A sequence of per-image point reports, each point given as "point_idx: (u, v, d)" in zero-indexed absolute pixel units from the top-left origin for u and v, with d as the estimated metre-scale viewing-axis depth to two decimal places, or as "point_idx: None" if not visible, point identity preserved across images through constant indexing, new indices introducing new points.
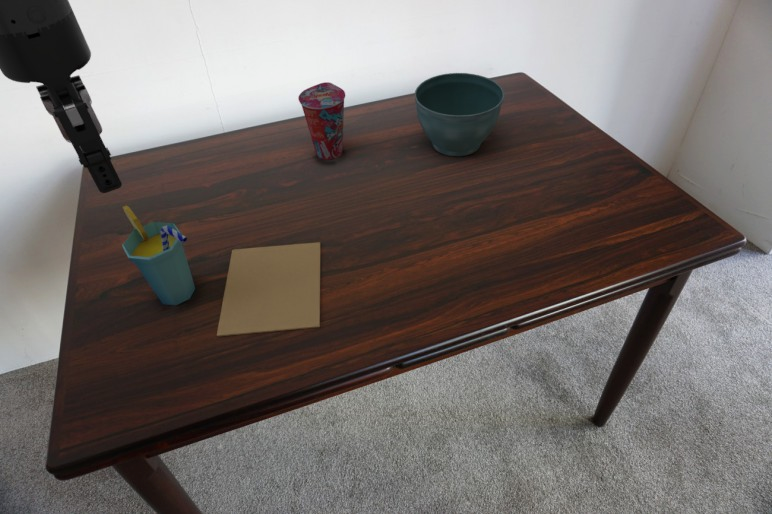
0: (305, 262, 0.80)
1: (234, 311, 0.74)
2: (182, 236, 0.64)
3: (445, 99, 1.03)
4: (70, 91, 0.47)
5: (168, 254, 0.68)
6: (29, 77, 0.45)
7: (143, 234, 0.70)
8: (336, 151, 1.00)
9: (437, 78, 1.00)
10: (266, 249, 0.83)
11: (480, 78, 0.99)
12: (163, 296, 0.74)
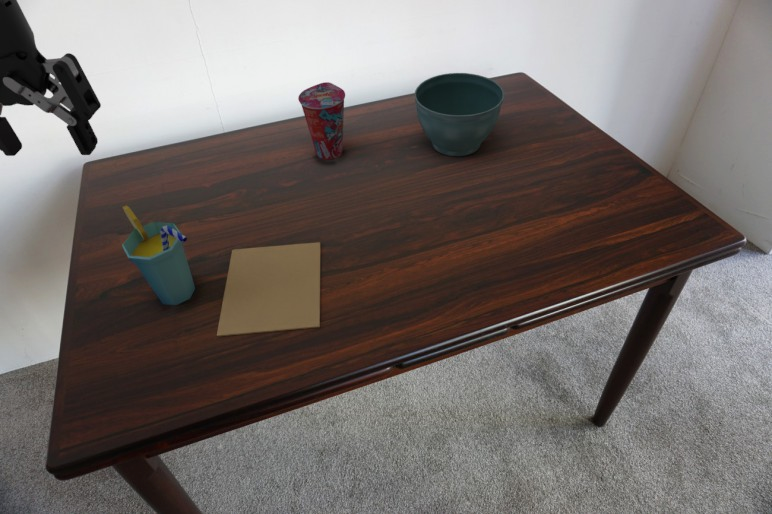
0: (305, 262, 0.80)
1: (234, 311, 0.74)
2: (182, 236, 0.64)
3: (445, 99, 1.03)
4: (42, 56, 0.51)
5: (168, 254, 0.68)
6: (11, 48, 0.48)
7: (143, 234, 0.70)
8: (336, 151, 1.00)
9: (437, 78, 1.00)
10: (266, 249, 0.83)
11: (480, 78, 0.99)
12: (163, 296, 0.74)
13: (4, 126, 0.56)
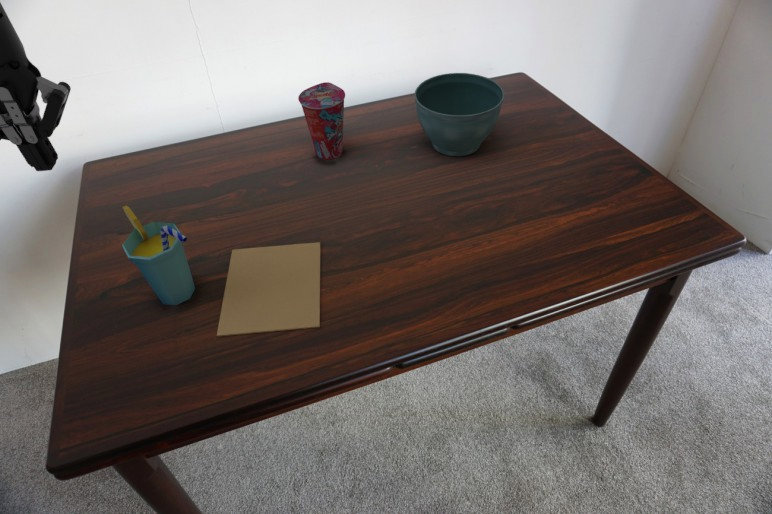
0: (305, 262, 0.80)
1: (234, 311, 0.74)
2: (182, 236, 0.64)
3: (445, 99, 1.03)
4: None
5: (168, 254, 0.68)
6: (5, 58, 0.50)
7: (143, 234, 0.70)
8: (336, 151, 1.00)
9: (437, 78, 1.00)
10: (266, 249, 0.83)
11: (480, 78, 0.99)
12: (163, 296, 0.74)
13: None
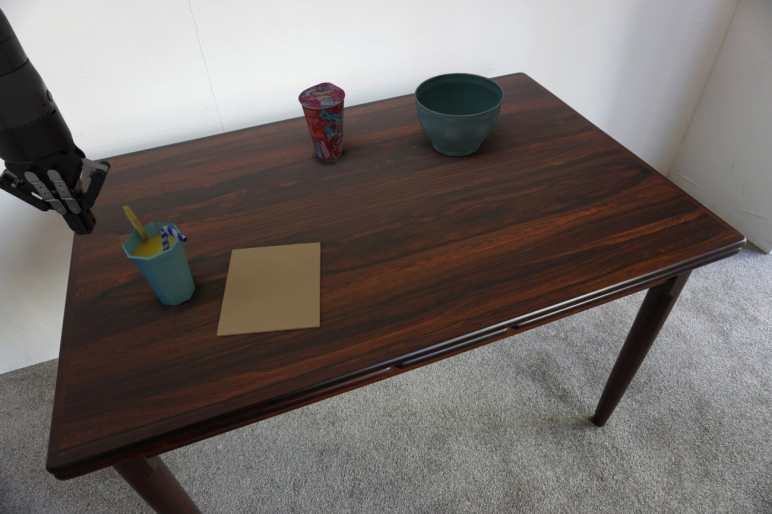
0: (305, 262, 0.80)
1: (234, 311, 0.74)
2: (182, 236, 0.64)
3: (445, 99, 1.03)
4: None
5: (168, 254, 0.68)
6: (57, 147, 0.57)
7: (143, 234, 0.70)
8: (336, 151, 1.00)
9: (437, 78, 1.00)
10: (266, 249, 0.83)
11: (480, 78, 0.99)
12: (163, 296, 0.74)
13: None
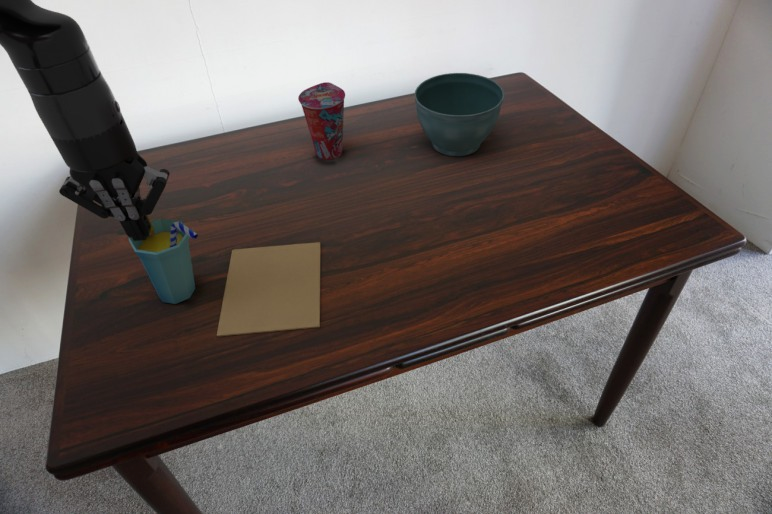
0: (305, 262, 0.80)
1: (234, 311, 0.74)
2: (193, 233, 0.65)
3: (445, 99, 1.03)
4: None
5: (175, 251, 0.69)
6: (124, 156, 0.58)
7: None
8: (336, 151, 1.00)
9: (437, 78, 1.00)
10: (266, 249, 0.83)
11: (480, 78, 0.99)
12: (163, 294, 0.74)
13: None
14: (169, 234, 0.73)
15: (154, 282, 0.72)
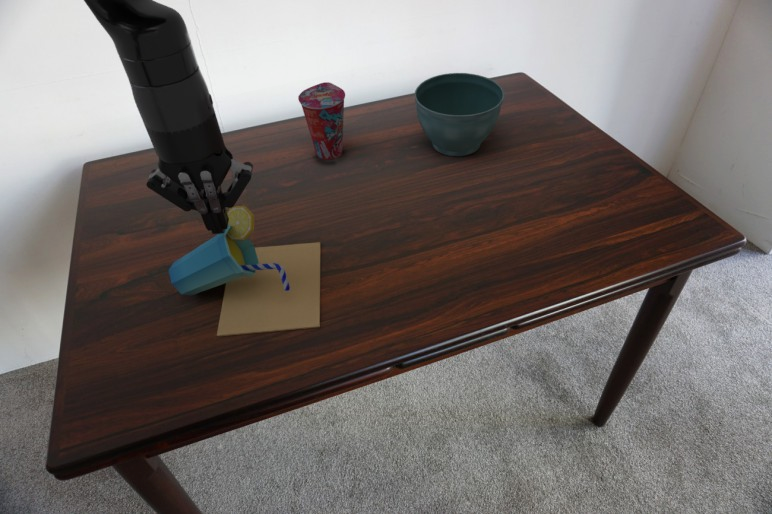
0: (305, 262, 0.80)
1: (234, 311, 0.74)
2: (289, 287, 0.73)
3: (445, 99, 1.03)
4: None
5: (248, 275, 0.73)
6: (215, 149, 0.58)
7: (240, 240, 0.72)
8: (336, 151, 1.00)
9: (437, 78, 1.00)
10: (266, 249, 0.83)
11: (480, 78, 0.99)
12: (185, 283, 0.72)
13: None
14: (234, 244, 0.75)
15: (196, 273, 0.71)
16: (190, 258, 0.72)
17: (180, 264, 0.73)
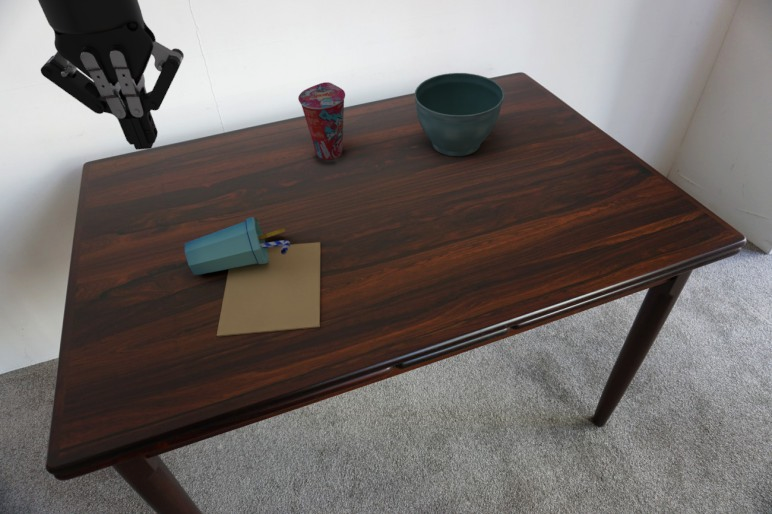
0: (305, 262, 0.80)
1: (234, 311, 0.74)
2: (286, 250, 0.72)
3: (445, 99, 1.03)
4: None
5: (254, 245, 0.75)
6: (126, 17, 0.44)
7: (263, 236, 0.80)
8: (336, 151, 1.00)
9: (437, 78, 1.00)
10: None
11: (480, 78, 0.99)
12: (196, 242, 0.76)
13: None
14: None
15: (212, 234, 0.77)
16: None
17: None
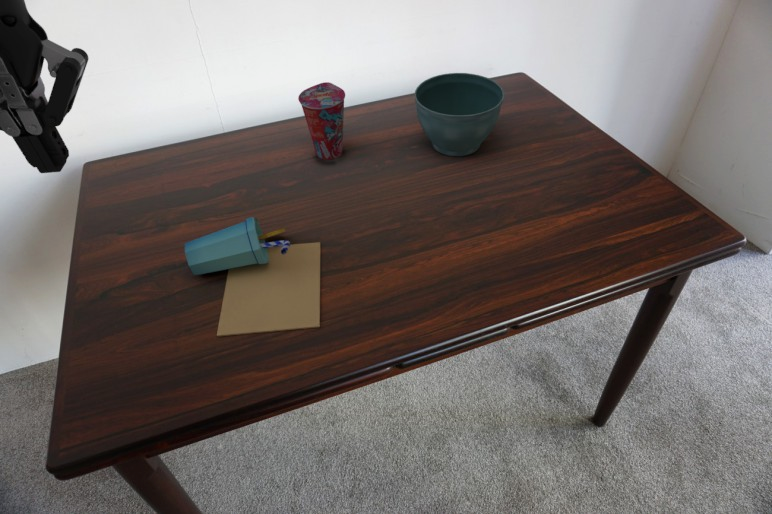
0: (305, 262, 0.80)
1: (234, 311, 0.74)
2: (286, 250, 0.72)
3: (445, 99, 1.03)
4: None
5: (254, 245, 0.75)
6: None
7: (263, 236, 0.80)
8: (336, 151, 1.00)
9: (437, 78, 1.00)
10: None
11: (480, 78, 0.99)
12: (196, 242, 0.76)
13: None
14: None
15: (212, 234, 0.77)
16: None
17: None
